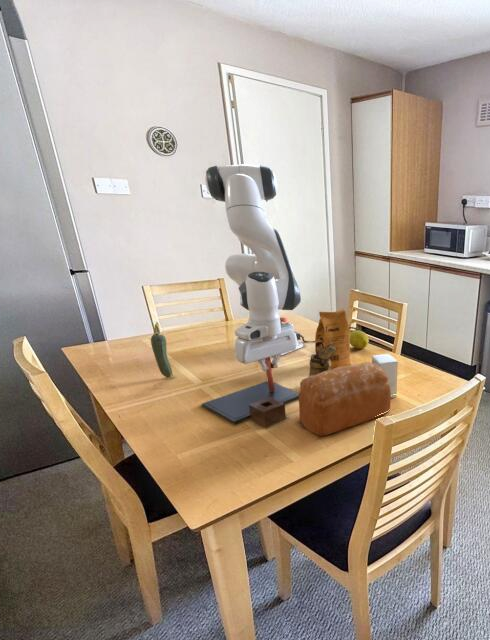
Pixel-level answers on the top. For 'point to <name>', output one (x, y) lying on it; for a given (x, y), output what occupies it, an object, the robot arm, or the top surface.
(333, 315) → the coffee package
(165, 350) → the vegetable
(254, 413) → the holder
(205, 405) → the tablet
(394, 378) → the small box
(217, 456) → the top surface
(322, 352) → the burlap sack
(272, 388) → the red rod
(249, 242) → the robot arm
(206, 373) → the top surface
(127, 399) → the top surface
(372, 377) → the bread
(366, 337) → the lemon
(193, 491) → the top surface
